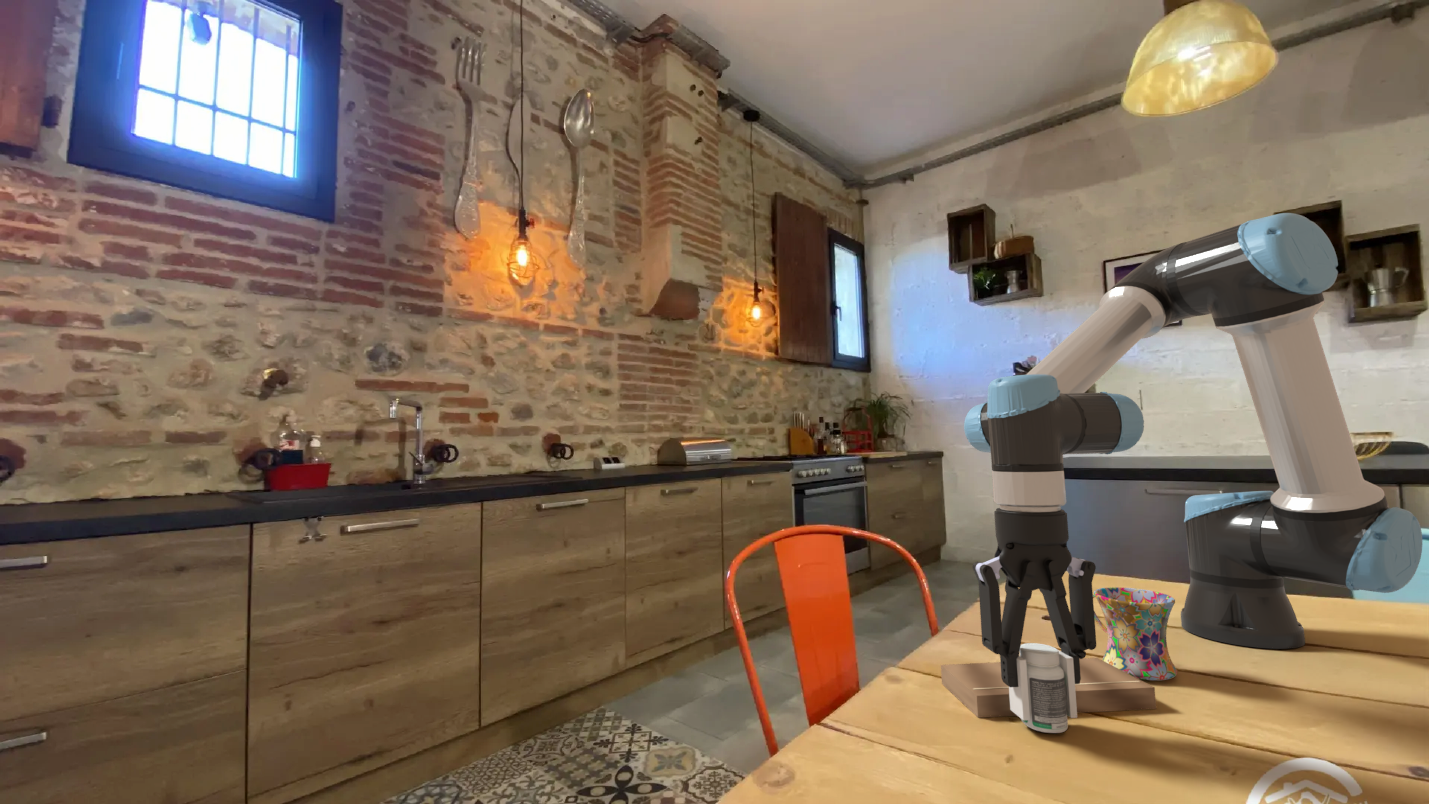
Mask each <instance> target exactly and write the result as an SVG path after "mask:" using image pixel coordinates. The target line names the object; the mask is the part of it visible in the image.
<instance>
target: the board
mask: <svg viewBox="0 0 1429 804" xmlns="http://www.w3.org/2000/svg"><path fill="white" fill-rule="evenodd" d="M1079 661H1080V675H1081V680H1080V684H1075V692H1076V705H1077V714H1078V713H1095V712H1096V713H1097V712H1098V713H1099V712H1100V713H1101V712H1115V711H1116V712H1118V711H1134V710H1135V711H1138V710H1154V709H1157V704H1156V703H1157V701H1156V700H1157V699H1156V691H1155V686H1153V685H1151V684H1149V683H1148V682H1145V681H1144V680H1142V679H1137V678H1135V677H1133V676H1132V675H1130V674H1128V673H1126V672H1124V671H1122V670H1120V669H1118V668H1116V667H1114V666H1112V665H1110V664H1108V663H1106V662H1104V661H1102V659H1100V658H1098V657H1086V658H1083V659H1079ZM940 669H941V671H940V674H941V684H942V686H943V687H945V688H946V689H947V690H948V691H949V692H950V693H951V694H952V695H953V696H955V698H956V699H958V700H959V701H960V702H961V703H962V704H963V705H964V706H965V707H966V708H967V709H968V710H970V711H971V713H972V714H974V716H976V718H993V717H1013V716H1015V717H1016V716H1017V715H1016V714H1015V713H1014V712H1012V711H1011V710H1010V697H1009V686H1008V685H1006V684H1005V683H1004V682H1003V680H1002V678H1001V662H999V661H996V662H994V661H993V662H976V663H974V662H973V663H972V662H971V663H956V664H954V663H952V664H951V663H949V664H940ZM1017 717H1018V716H1017Z"/></svg>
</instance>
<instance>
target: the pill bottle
mask: <svg viewBox="0 0 1429 804" xmlns="http://www.w3.org/2000/svg"><path fill="white" fill-rule="evenodd" d="M1058 650H1059V649H1057V648H1056V647H1054V646H1051V645H1048V644H1043V643H1036V642H1035V643H1034V642H1029V643H1028V642H1027V643H1021V646H1020V652H1019V656H1020V657H1022V658H1023V659H1025V660H1026V666H1027V681H1028V697H1029V712H1030V720H1022V719H1021V718H1020V720H1021V722H1022V723H1023V725H1025V726H1027V727H1028V728H1030V729H1032V730H1034V731H1037V732H1041V733H1048V734H1061V733H1063V732H1065V731H1067V730H1068V727H1069V725H1068V724H1069V722H1068V721H1069V720H1068V716H1067V707H1066V693H1065V681H1064V679H1065V678H1064V672H1063V670H1062V668H1061V667H1060V666H1058V665H1059V652H1058Z"/></svg>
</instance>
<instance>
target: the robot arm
mask: <svg viewBox="0 0 1429 804" xmlns="http://www.w3.org/2000/svg"><path fill="white" fill-rule="evenodd" d="M1338 266H1339V262H1338V256H1337V254H1336V251H1335V247H1334V246H1333V244H1332V242H1331V240H1330V238H1329V237H1328V235H1327V234H1326V233H1325V232H1324V230H1323V229H1322V228H1321V227H1320V226H1319V225H1318V224H1316V222H1314V221H1312V220H1310V219H1309V218H1307V217H1305V216H1304V215H1300V214H1298V213H1293V212H1282V213H1277V214H1272V215H1269V216H1265V217H1260V218H1257V219H1250V220H1248V221H1246V222H1243V223H1241V224H1237V225H1235V226H1234V225H1233V226H1232V227H1228V228H1225V229H1223V230H1218V231H1216V232H1214V233H1210V234H1206V235H1204V236H1201V237H1198V238H1195V239H1192V240H1189V241H1184V242H1181V243H1178V244H1175V245H1171V246H1169V247H1168V248H1165V249H1163V250H1161V251H1160V252H1158V253H1156V254H1154V255H1153V256H1152V257H1150V258H1148V259H1146V260H1145V261H1144V262H1142V263H1141V264H1140V265H1138V266H1136V267H1135V268H1134V269H1133V270H1132V271H1130V272H1129V273H1128V274H1126V275H1125V276H1124V277H1122V279H1120V280H1119V281H1118V282H1116V283H1115V284H1114V285H1113V286H1112V287H1111V288H1110V289H1109V290H1108V291H1106V292H1105V293H1104V294H1103V296H1102V297H1101V299H1100V300H1099V304H1098V309H1097V310H1095V311H1094V312H1092V314H1091V315H1090V316H1089V317H1088V318H1086V320H1085V321H1083V322H1082V323H1081V324H1080V325H1079V326H1078V327H1077V328H1076V329H1075V330H1073V332H1071V333H1069V335H1068V336H1067V337H1066V338H1064V340H1063V341H1061V342H1060V343H1059V344H1058V345H1057V346H1056V347H1055V348H1054V349H1052V351H1050V352H1049V353H1048V354H1047V355H1046V356H1045V357H1043V359H1041V360H1040V361H1039V362H1038V363H1036V364H1035V366H1034V367H1033V368H1032V369H1030V370H1029V371H1028V372H1027V373H1026V374H1017V375H1011V376H1010V375H1009V376H1001V377H997V378H995V379H993V380H991V382H989V384H988V386H987V399H986V400H987V401H986V402H984V403H980V404H976V405H974V406H973V407H972V408H970V410H969V411H968V412H967V414H966V416H965V418H964V424H963V429H964V430H963V431H964V434H965V438H966V439H967V441H968V443H969V444H970V446H971V447H972V448H974V449H975V450H977V451H979V452H982V453H990V459H991V460H990V461H991V462H990V463H991V477H992V490H993V491H992V494H993V502H994V503H995V504H996V505H998V506H999V507H997V508H996V509H995V511H994V512H993V513H994V515H993V516H994V528H995V531H994V532H995V537H996V541H997V542H996V543H997V547H996V551H995V553H994V556H993V558H991V559H989V560H987V561H984V562H981V561H975V562H973V564H972V570H973V572H974V574H975V576H976V579H977V582H978V596H979V597H978V599H979V611H980V612H979V613H980V614H979V615H980V627H981V628H980V630H981V631H980V632H981V644H982V646H983V647H985V648H986V649H988V650H990V651H991V652H993V653H994V654H995V655H999V657H1000V658H999V659H1000V662H1001V678H1002V680H1003V682H1004V683H1005V684H1006V685H1008V686H1009V697H1010V710H1011V711H1012V712H1014V713H1015V714H1016V715H1017V717H1019V718H1020V720H1021V719H1022V720H1030V712H1029V697H1028V681H1027V666H1026V660H1025V659H1023V658H1022V657H1020V646H1021V645H1022V640H1023V639H1022V638H1023V633H1024V627H1025V622H1026V615H1027V609H1028V602H1029V600H1031V599H1032V594H1033V591H1036V590H1039V591H1040V593H1041V594H1042V596H1043V599H1044V603H1045V606H1046V609H1047V613H1048V617H1049V620H1050V622H1051V626H1052V630H1053V632H1054V636H1055V639H1056V642H1057V646H1058V647H1059V648H1060V650H1059V649H1057V650H1058V652H1059V665H1058V666H1060V667H1061V668H1062V670H1063V672H1064V678H1065V679H1064V681H1065V693H1066V707H1067V717H1069V718H1071V719H1077V718H1078V713H1077V705H1076V692H1075V684H1080V680H1081V675H1080V661H1079V659H1083V658H1085V657H1086V656H1087V650H1090V651H1093V650H1095V649H1096V648H1097V636H1096V621H1095V619H1094V611H1095V608H1094V607H1095V606H1094V598H1093V595H1094V592H1093V580H1094V577H1095V573H1096V569H1097V568H1096V563H1094V562H1093V561H1090V560H1086V559H1082V558H1080V557H1074V556H1072V553H1071V551H1070V550H1069V547H1068V546H1067V545H1068V541H1069V538H1070V536H1069V524H1068V523H1069V522H1068V513H1067V512H1066V511H1065V510H1064V509H1063V508H1062V507H1063V506H1065V505H1066V504H1067V491H1066V481H1065V471H1064V455H1091V454H1099V455H1103V454H1105V455H1110V454H1112V453H1121V452H1125V451H1127V450H1130V449H1131V448H1133V447H1134V446H1136V444H1137V443H1138V442H1139V441H1140V439H1141V438H1142V436H1143V433H1144V428H1145V425H1144V424H1145V420H1144V414H1143V412H1142V410H1141V407H1140V406H1139V405H1138V404H1137V403H1136V402H1135V401H1134V400H1133V399H1132V398H1131V397H1129V396H1128V395H1127V396H1126V395H1124V394H1119V393H1109V392H1107V391H1099V392H1087V391H1088V390H1089V389H1090V388H1091V387H1092V386H1093V385H1095V383H1097V381H1098V380H1099V379H1101V378H1102V377H1103V376H1104V375H1105V374H1106V373H1107V372H1108V371H1109V370H1110V369H1112V367H1113V366H1114V365H1116V364H1117V362H1119V360H1120V359H1121V358H1123V356H1124V355H1126V354H1127V353H1128V352H1129V351H1131V349H1133V347H1134V346H1135V345H1136V344H1137V343H1138V342H1139V341H1140V340H1141V339H1148V338H1151V337H1153V336H1155V335H1157V334H1158V333H1159V332H1160V331H1161V330H1162V329H1163V328H1164V327H1166V326H1168V325H1171V324H1173V323H1177V322H1179V321H1182V320H1185V319H1190V318H1194V317H1200V316H1206V315H1211V317H1212V319H1213V323H1214V326H1215V329H1218V330H1220V331H1222V332H1224V333H1227V334H1229V335H1231V336H1232V339H1233V341H1234V342H1233V343H1234V346H1235V348H1236V351H1237V354H1238V357H1239V361H1240V364H1241V368H1242V371H1243V374H1244V377H1245V380H1246V383H1247V386H1248V389H1249V393H1250V395H1251V396H1250V397H1251V399H1252V403H1253V406H1254V409H1255V411H1256V412H1255V413H1256V415H1257V418H1258V423H1259V425H1260V427H1261V431H1262V433H1263V437H1264V440H1265V444H1266V447H1267V450H1268V453H1269V456H1270V459H1271V462H1272V466H1273V469H1274V471H1275V476H1276V479H1277V482H1278V484H1279V485H1278V486H1279V488H1278V489H1277V490H1276V491H1275V492H1274V491H1273V490H1258V491H1256V490H1255V491H1241V492H1238V491H1237V492H1225V493H1224V492H1222V493H1206V494H1195V495H1192V496H1189V497H1188V498H1187V499H1186V500H1185V504H1184V519H1183V523H1184V524H1185V533H1186V535H1185V536H1186V543H1187V554H1188V555H1187V557H1188V564H1189V565H1188V566H1189V576H1190V578H1189V579H1190V583H1189V586H1188V590H1187V594H1186V598H1185V601H1184V606H1183V608H1182V609H1181V611H1180V622H1181V627H1182V629H1183V630H1185V631H1186V632H1188V633H1190V634H1193V635H1195V636H1198V637H1201V638H1204V639H1208V640H1211V641H1216V642H1219V643H1220V642H1221V643H1225V644H1230V645H1236V646H1243V647H1249V648H1250V647H1251V648H1258V649H1270V650H1271V649H1274V650H1280V649H1281V650H1285V649H1288V650H1289V649H1295V648H1300V647H1303V646H1305V645H1306V638H1305V630H1304V627H1303V624H1301V622H1299V621H1298V619H1297V616H1296V612H1295V611H1294V607H1293V605H1292V603H1291V602H1290V599H1289V598H1288V596H1287V593H1286V590H1285V582H1284V578H1286V579H1291V580H1296V581H1297V580H1298V581H1305V582H1311V583H1316V584H1322V585H1327V586H1328V585H1329V586H1333V587H1340V588H1346V589H1348V590H1350V591H1365V592H1366V591H1368V592H1373V593H1374V592H1375V593H1382V594H1383V593H1384V594H1389V593H1393V592H1397V591H1399V590H1401V589H1403V588H1404V587H1405V586H1406V585H1408V584H1409V583H1410V582H1411V580H1412V579H1413V578H1414V576H1415V574H1416V572H1417V570H1418V567H1419V564H1420V562H1421V558H1422V553H1423V533H1422V528H1421V524H1420V522H1419V520H1418V518H1417V517H1416V516H1415V515H1414V514H1413V512H1411V511H1410V510H1407V509H1404V508H1401V507H1399V506H1393V507H1390V505H1389V503H1388V500H1387V497H1386V495H1385V491H1384V489H1383V488H1381V487H1380V486H1378V485H1376V484H1374V483H1372V482H1369V481H1368V480H1365V479H1364V476H1363V473H1362V470H1361V467H1360V463H1359V460H1358V455H1357V453H1356V450H1355V446H1354V445H1353V441H1352V437H1351V434H1350V431H1349V428H1348V425H1347V422H1346V418H1345V415H1344V412H1343V409H1342V405H1341V402H1340V399H1339V396H1338V392H1337V389H1336V387H1335V384H1334V380H1333V376H1332V373H1331V371H1330V368H1329V364H1328V360H1327V357H1326V354H1325V352H1324V348H1323V345H1322V341H1321V338H1320V335H1319V332H1318V328H1317V325H1316V322H1315V319H1314V318H1315V315H1316V313H1317V312H1318V311H1319V310H1320V309H1321V307H1322V306H1323V305H1325V297H1324V294H1323V292H1324V291H1327V290H1328V289H1330V288H1331V287H1332V286H1333V285H1334V284H1335V282H1336V280H1337V277H1338V274H1339V271H1338V269H1337V267H1338ZM1000 570H1001V571H1002V573H1003V575H1005V576H1006V577H1005V578H1006V579H1005V585H1004V591H1005V599H1004V605H1003V611H1002V612H1001V595H1000V593H1001V591H1000V585H999V582H998V581H999V580H1000V578H1001V576H1000ZM1066 571H1067V572H1068V593H1067V591H1066V588H1065V583H1064V580H1063V577H1064V575H1065V574H1066ZM1067 594H1069V604H1068V602H1067V598H1066V596H1067ZM1069 606H1070V607H1069ZM1069 608H1070V609H1069ZM1022 720H1021V721H1022Z"/></svg>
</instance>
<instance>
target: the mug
mask: <svg viewBox="0 0 1429 804" xmlns="http://www.w3.org/2000/svg"><path fill="white" fill-rule="evenodd" d="M1095 598H1096V599H1097V602H1098V604H1099V607H1100V608H1101V611H1102V613H1103V617H1104V619H1105V620H1104V621H1105V625H1106V626H1105V625H1104V623H1103V622H1102V621H1101V619H1100V618H1099V617H1098V615H1097V613H1096V611H1095V610H1094V619H1095V624H1097V625H1098V627H1099V628H1101V630H1102V631H1103V632H1104V633H1105V634H1107V643H1106V645H1107V646H1106V650H1105V653H1104V655H1103V657H1102V659H1101V660H1102V661H1104V662H1106V663H1108V664H1110V665H1112V666H1114V667H1116V668H1118V669H1120V670H1122V671H1124V672H1126V673H1128V674H1130V675H1132V676H1133V677H1135V678H1137V679H1139V680H1141V681H1165V680H1166V681H1167V680H1172V679H1173V678H1175V677H1176V676H1177V675H1178V669H1177V667H1175V665H1174V662H1173V661H1172V659H1171V656H1170V653H1169V649H1168V643H1167V631H1168V630H1167V628H1168V623H1169V618H1170V615H1171V612H1172V610H1173V607H1174V606H1175V603H1176V599H1175V598H1174V597H1172V595H1169V594H1166V593H1162V592H1159V591H1155V590H1149V589H1142V588H1136V587H1135V588H1133V587H1119V586H1117V587H1116V586H1115V587H1113V586H1112V587H1111V586H1109V587H1100V588H1097V589H1095V590H1094V592H1093V599H1095Z"/></svg>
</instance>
